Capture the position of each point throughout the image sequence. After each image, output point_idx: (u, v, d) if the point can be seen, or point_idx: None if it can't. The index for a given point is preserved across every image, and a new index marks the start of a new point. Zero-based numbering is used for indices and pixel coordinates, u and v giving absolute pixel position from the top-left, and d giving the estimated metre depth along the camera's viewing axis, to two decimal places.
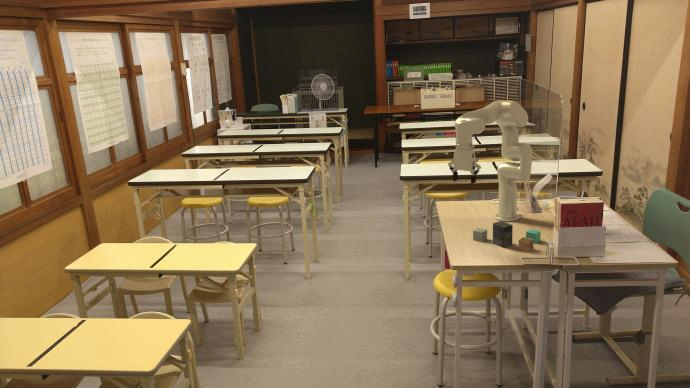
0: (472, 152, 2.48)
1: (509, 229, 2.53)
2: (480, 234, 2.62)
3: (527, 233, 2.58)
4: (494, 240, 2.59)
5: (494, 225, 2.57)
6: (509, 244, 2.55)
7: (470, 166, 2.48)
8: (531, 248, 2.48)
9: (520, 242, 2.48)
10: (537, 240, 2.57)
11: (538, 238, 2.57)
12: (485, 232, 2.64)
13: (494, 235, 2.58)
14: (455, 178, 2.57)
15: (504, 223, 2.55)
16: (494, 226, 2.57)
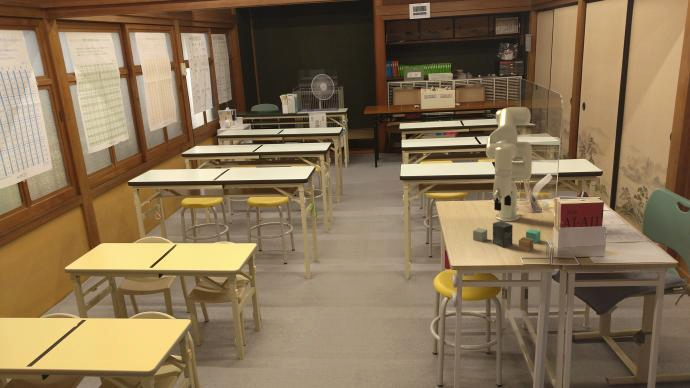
0: None
1: (509, 229, 2.53)
2: (480, 234, 2.62)
3: (527, 233, 2.58)
4: (494, 240, 2.59)
5: (494, 225, 2.57)
6: (509, 244, 2.55)
7: (511, 189, 2.52)
8: (531, 248, 2.48)
9: (520, 242, 2.48)
10: (537, 240, 2.57)
11: (538, 238, 2.57)
12: (485, 232, 2.64)
13: (494, 235, 2.58)
14: None
15: (504, 223, 2.55)
16: (494, 226, 2.57)
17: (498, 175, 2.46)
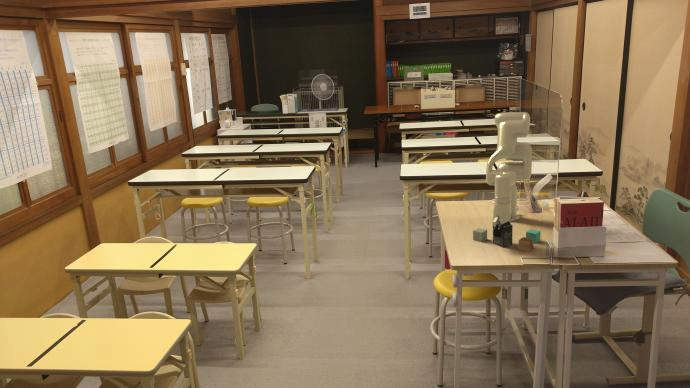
0: None
1: (509, 229, 2.53)
2: (480, 234, 2.62)
3: (527, 233, 2.58)
4: (494, 240, 2.59)
5: None
6: (509, 244, 2.55)
7: (510, 215, 2.56)
8: (531, 248, 2.48)
9: (520, 242, 2.48)
10: (537, 240, 2.57)
11: (538, 238, 2.57)
12: (485, 232, 2.64)
13: None
14: None
15: (504, 223, 2.55)
16: None
17: (498, 202, 2.50)
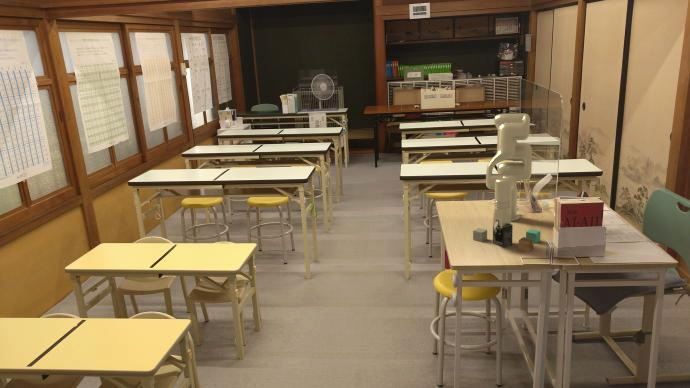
0: None
1: (509, 229, 2.53)
2: (480, 234, 2.62)
3: (527, 233, 2.58)
4: (494, 240, 2.59)
5: None
6: (509, 244, 2.55)
7: (510, 219, 2.57)
8: (531, 248, 2.48)
9: (520, 242, 2.48)
10: (537, 240, 2.57)
11: (538, 238, 2.57)
12: (485, 232, 2.64)
13: (494, 235, 2.58)
14: None
15: None
16: None
17: (498, 207, 2.50)
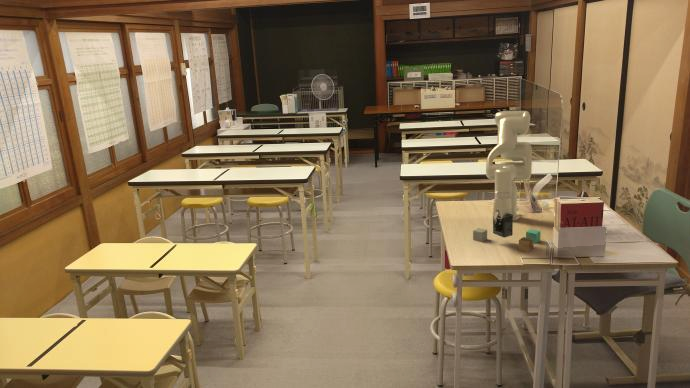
0: None
1: (509, 219, 2.52)
2: (480, 234, 2.62)
3: (527, 233, 2.58)
4: (494, 230, 2.58)
5: None
6: (509, 234, 2.54)
7: (511, 209, 2.56)
8: (531, 248, 2.48)
9: (520, 242, 2.48)
10: (537, 240, 2.57)
11: (538, 238, 2.57)
12: (485, 232, 2.64)
13: (494, 225, 2.57)
14: None
15: None
16: None
17: (498, 197, 2.49)
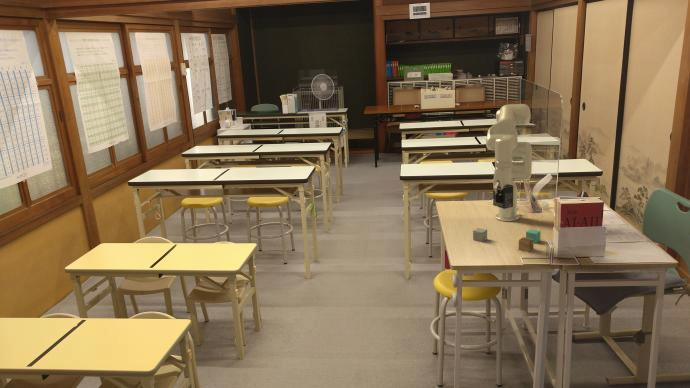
0: None
1: (510, 190, 2.48)
2: (480, 234, 2.62)
3: (527, 233, 2.58)
4: (494, 202, 2.54)
5: None
6: (510, 205, 2.50)
7: (511, 180, 2.52)
8: (531, 248, 2.48)
9: (520, 242, 2.48)
10: (537, 240, 2.57)
11: (538, 238, 2.57)
12: (485, 232, 2.64)
13: (494, 197, 2.53)
14: None
15: None
16: None
17: (498, 167, 2.45)
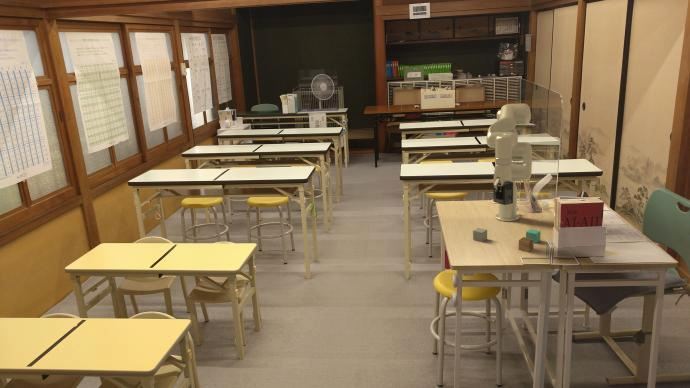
0: None
1: (510, 186, 2.52)
2: (480, 234, 2.62)
3: (527, 233, 2.58)
4: (494, 198, 2.57)
5: None
6: (510, 202, 2.54)
7: (511, 177, 2.55)
8: (531, 248, 2.48)
9: (520, 242, 2.48)
10: (537, 240, 2.57)
11: (538, 238, 2.57)
12: (485, 232, 2.64)
13: (495, 193, 2.57)
14: None
15: None
16: None
17: (498, 164, 2.49)
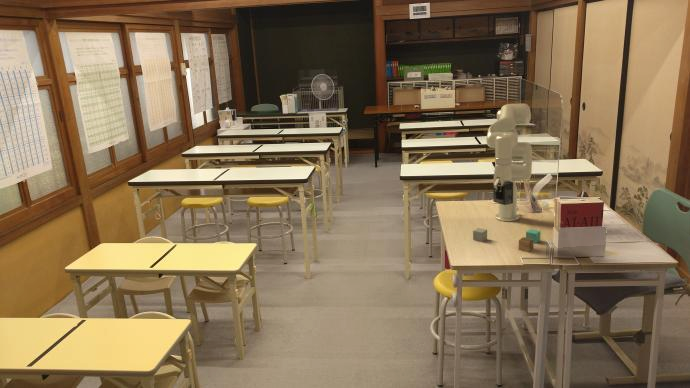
0: None
1: (510, 186, 2.52)
2: (480, 234, 2.62)
3: (527, 233, 2.58)
4: (494, 198, 2.57)
5: None
6: (510, 202, 2.54)
7: (511, 177, 2.55)
8: (531, 248, 2.48)
9: (520, 242, 2.48)
10: (537, 240, 2.57)
11: (538, 238, 2.57)
12: (485, 232, 2.64)
13: (495, 193, 2.57)
14: None
15: None
16: None
17: (498, 164, 2.49)
